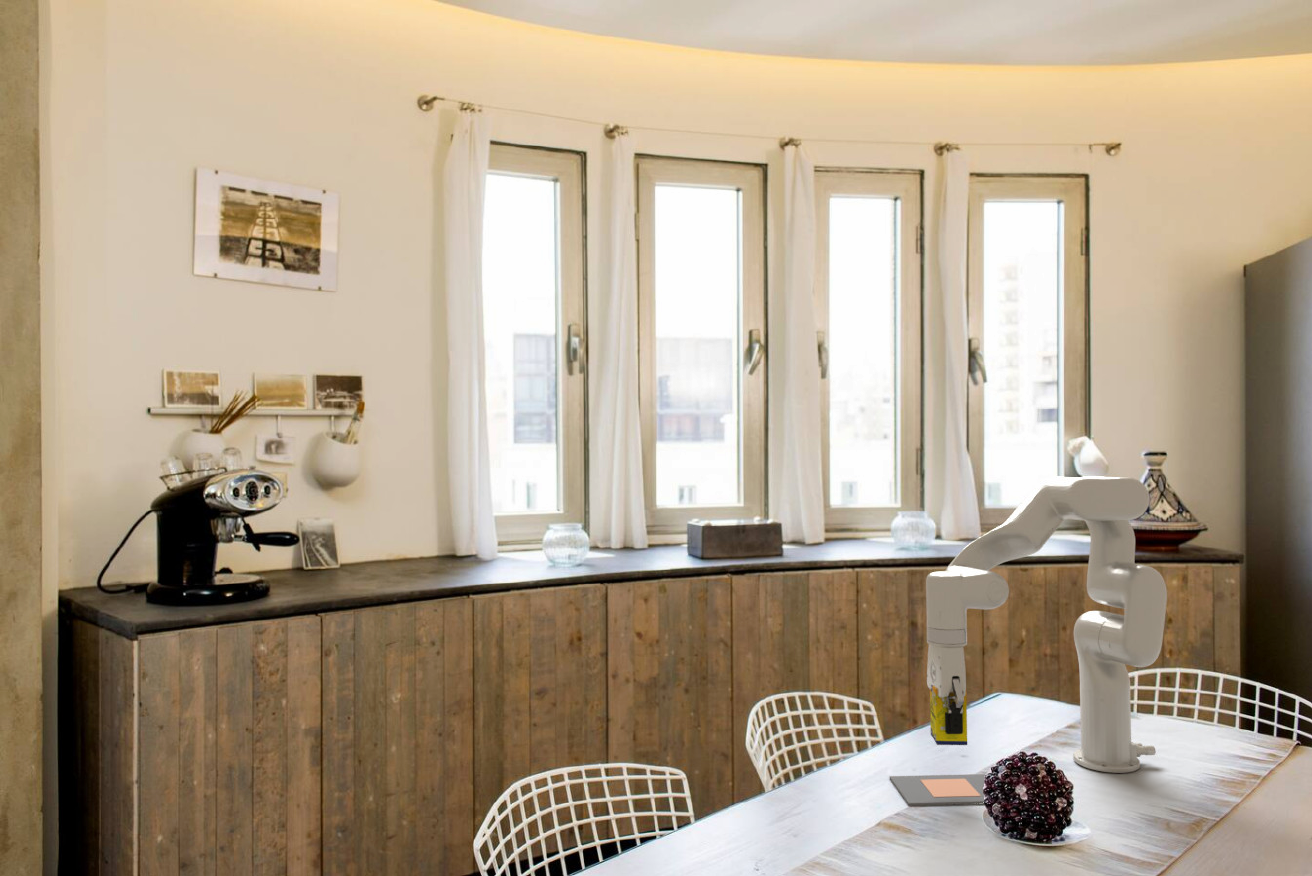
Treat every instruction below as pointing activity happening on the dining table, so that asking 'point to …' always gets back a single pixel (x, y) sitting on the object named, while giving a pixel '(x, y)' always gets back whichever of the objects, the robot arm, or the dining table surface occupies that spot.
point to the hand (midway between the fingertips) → (948, 727)
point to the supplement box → (938, 720)
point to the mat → (940, 789)
